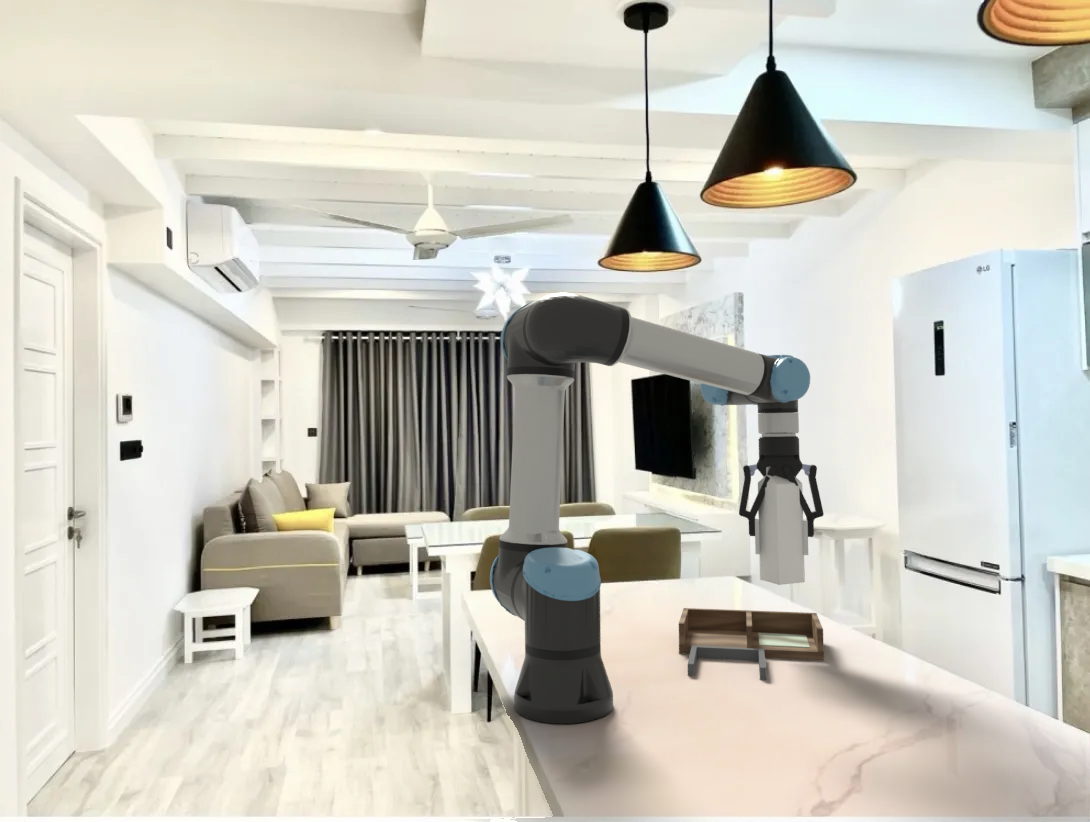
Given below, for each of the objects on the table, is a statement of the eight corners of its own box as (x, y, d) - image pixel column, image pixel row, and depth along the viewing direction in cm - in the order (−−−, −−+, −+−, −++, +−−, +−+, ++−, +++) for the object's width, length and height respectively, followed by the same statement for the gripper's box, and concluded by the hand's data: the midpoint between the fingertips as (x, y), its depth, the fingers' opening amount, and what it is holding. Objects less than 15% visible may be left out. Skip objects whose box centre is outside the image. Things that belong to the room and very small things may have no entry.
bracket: (766, 679, 134) (765, 667, 134) (687, 675, 137) (687, 663, 137) (764, 659, 146) (764, 648, 146) (691, 656, 149) (691, 645, 149)
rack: (824, 660, 145) (823, 630, 145) (679, 653, 151) (678, 624, 151) (817, 640, 159) (816, 612, 159) (684, 634, 165) (683, 608, 165)
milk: (759, 580, 155) (756, 466, 156) (785, 577, 158) (781, 465, 158) (779, 585, 150) (775, 467, 150) (805, 582, 152) (802, 466, 153)
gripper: (833, 434, 156) (837, 551, 155) (723, 436, 161) (725, 549, 160) (838, 434, 148) (841, 557, 148) (722, 436, 153) (725, 555, 153)
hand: (781, 553), depth 154 cm, fingers closed on milk, 8 cm apart
